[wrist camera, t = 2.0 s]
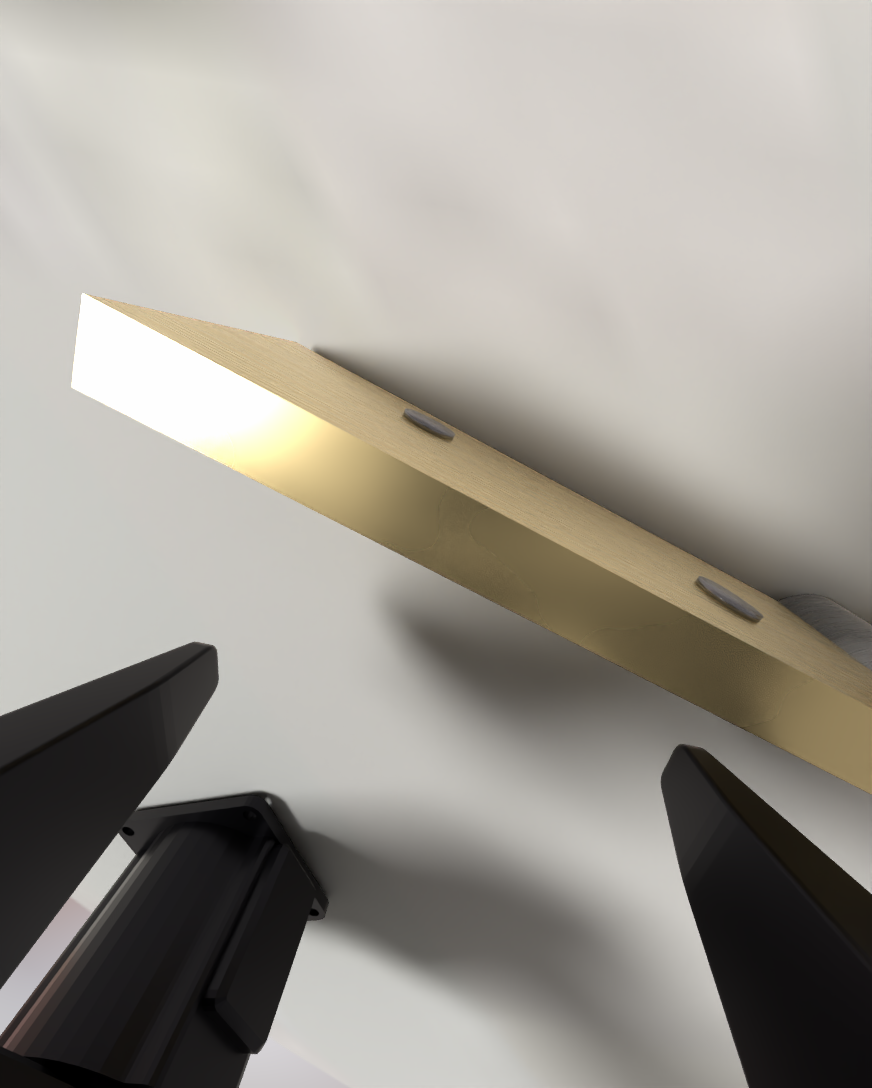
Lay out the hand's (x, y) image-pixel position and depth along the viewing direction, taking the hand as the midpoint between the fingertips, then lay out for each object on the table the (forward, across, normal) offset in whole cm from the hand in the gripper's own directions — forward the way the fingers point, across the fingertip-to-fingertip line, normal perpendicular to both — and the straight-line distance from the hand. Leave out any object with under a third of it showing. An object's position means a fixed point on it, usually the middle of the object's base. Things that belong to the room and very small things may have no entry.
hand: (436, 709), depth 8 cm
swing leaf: (+3, -2, -3) cm, 5 cm away
